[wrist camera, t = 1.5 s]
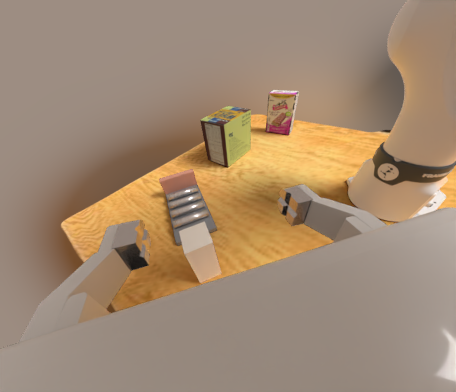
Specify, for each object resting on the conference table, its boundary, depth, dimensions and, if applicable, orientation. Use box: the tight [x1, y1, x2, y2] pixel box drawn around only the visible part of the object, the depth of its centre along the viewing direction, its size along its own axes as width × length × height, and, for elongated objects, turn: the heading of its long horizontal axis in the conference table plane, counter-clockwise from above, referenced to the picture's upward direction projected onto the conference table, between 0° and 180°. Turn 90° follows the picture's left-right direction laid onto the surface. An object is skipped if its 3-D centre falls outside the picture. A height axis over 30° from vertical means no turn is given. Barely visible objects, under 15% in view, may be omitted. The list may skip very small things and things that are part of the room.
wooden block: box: [179, 221, 222, 283], centre depth 31 cm, size 4×4×12 cm
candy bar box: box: [266, 90, 299, 135], centre depth 73 cm, size 11×5×16 cm, turn 61°
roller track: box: [159, 169, 217, 246], centre depth 45 cm, size 10×20×6 cm, turn 23°
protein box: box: [200, 106, 251, 167], centre depth 62 cm, size 10×15×16 cm
